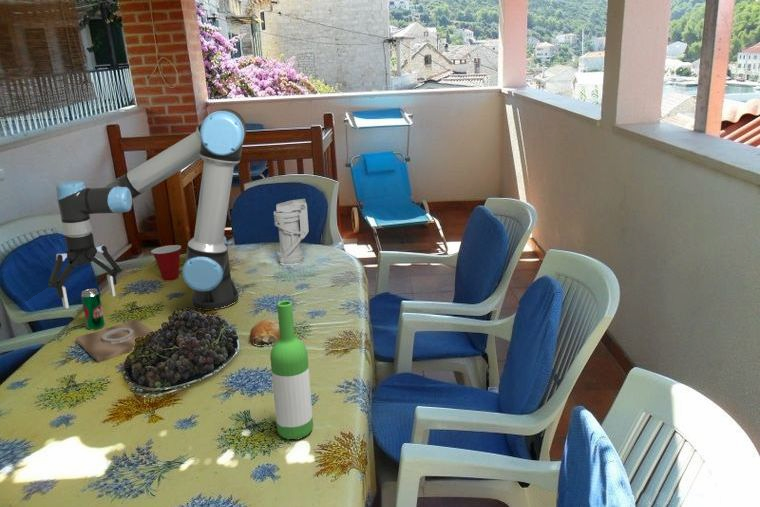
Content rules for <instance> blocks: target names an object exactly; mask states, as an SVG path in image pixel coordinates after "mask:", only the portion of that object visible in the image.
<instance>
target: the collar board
mask: <svg viewBox="0 0 760 507" xmlns="http://www.w3.org/2000/svg"><path fill="white" fill-rule="evenodd" d="M152 331H154V330H153V329H151V328H150V327H148V325H146V324H144V323H143V322H141V321H140V320H138V319H132V320H129V321H126V322H123V323H120V324H117V325H113V326H110V327H107V328H104V329H99V330H97V331H96V330H95V331H94V332H89V333H87V334H84V335H83V334H82V335H81V336H76V337H75V341H76V342H75V343H77V344H78V345H79V344H80V345H81V346H82V347H83V348H84V349H85V350H86V351H87V352H88V353H89V354H88V353H87V352H86V351H85V350H84V349H83V348H82V347H81V346H80V345H79V346H80V347H81V348H82V349H83V350H84V351H85V352H86V353H87V354H88V355H89V356H90V357H92V358H93V359H94V361H95V362H97V363H102V362H105V361H108V360H111V359H113V357H114V358H117V357H119V355H120V356H122V354H123V355H125V353H126V354H128V352H129V353H131V352H130V351H132V350H133V347H134V344H135V339H136V338H138V337H144V336H146V335H147V334H148V333H149V332H152ZM132 352H133V351H132ZM116 356H117V357H116ZM110 358H111V359H110ZM104 360H105V361H104ZM101 361H102V362H101Z"/></svg>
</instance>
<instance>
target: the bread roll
mask: <svg viewBox="0 0 760 507" xmlns="http://www.w3.org/2000/svg"><path fill="white" fill-rule="evenodd" d="M249 332H250V333H249V339H250V342H251V344H252V343H254V344H257V345H261V346H262V345H264V344H267V345H269V344H272V343H276V342H277V341H278V340H279V339H280V331H279V321H277V320H275V319H272V318H261V319H260V321H258V322H257V323H255V324H254V325H253V326H252V327H251V329H250V331H249Z"/></svg>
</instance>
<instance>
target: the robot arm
mask: <svg viewBox="0 0 760 507" xmlns="http://www.w3.org/2000/svg"><path fill="white" fill-rule="evenodd" d="M246 134H247V125H246V122H245V119H244V118H243V116H241V114H240V113H238V112H237V111H235V110H233V109H230V108H221V109H218V110H216V111H214V112H212V113H209V115H207V116H206V117H205V119H204V120H203V121H202V123H201V124H199V125H197V127H196V131H194V132H192V133H191V134H190V135H188V136H186V137H184V138H183V139H181V140H179V141H178V142H176V143H175V144H173V145H171V146H169V147H168V148H166V149H164V150H163V151H161V152H159V153H157V155H155V156H153V157H151V158H150V159H148V160H146V161H144V162H143V163H142V164H139V165H138V166H136V167H135V168H133V169H131V170H130V171H128V172H127V173H125V174H123V175H121V176H120V177H117V178H115V179H114V180H112V181H111V182H110V183H108V184H107V185H105V186H104V187H87V186H86V185H85V183H84V181H82V180H67V181H62V182H59V183H58V184H57V185H56V188H55V189H56V197H57V198H56V201H57V204H58V207H59V208H58V209H59V213H60V218H61V225H62V230H63V231H62V232H63V234H64V242H65V246H66V253H58V252H57V253H55V263H54V265H53V268H52V271H51V273H50V276H49V280H48V284H47V285H48V286H49V287H51V289H54V288H55V289H56V296H57V297H58V298H59V299H61V301H62V305H63V307H64V308H65V309H69V308H70V306H69V301H68V295H67V289H66V286H64V284H65V283H66V282H67V280H68V278H69V277H70V275H71V274H72V272H73V271H74V269H75V268H76V267H77V266H84V265H88V264H91V263H92V262H93V263H94V264H96V265H97V266H99V267H100V268H101V269H103V270H104V271H105V272H107V273H108V274H106V279H107V285H108V292H109V295H110V296H112V297H116V290H115V286H116V285H117V278H116V277H117V274H118V273H120V272H122V268H121V267H120V266H119V265H118V263H117V262H116V261H115V259H114V257H112V256H111V254H110V253H109V251H108V249H107V246H106V245H104V244H102V243H101V244H100V245H99V246H95V240H94V234H93V233H92V232H93V227H92V223H91V216H90V215H94V214H96V215H97V214H120V213H128V212H130V211H131V209H132V206H133V200H134V199H135V198H136V197H138V196H140V195H142V194H143V193H145V192H146V191H148V190H150V189H152V188H153V187H155V186H157V185H158V184H160V183H161V182H163V181H165V180H166V179H168V178H170V177H172V176H173V175H175V174H176V173H179V172H180V171H182V170H184V169H185V168H187V167H189V166H190V165H192V164H193V163H195V162H197V161H198V160H200V159H202V160H203V166H202V175H201V180H200V181H201V182H200V188H199V189H200V190H199V198H198V205H197V210H196V211H197V213H196V221H195V227H194V228H195V229H194V236H193V237H192V238H191V239H190V240H189V241H188V243H187V248H186V254H185V262H184V264H183V266H182V269H181V270H182V273H181V274H182V275H181V276H182V278H183V281H184V283H185V284H186V286H188V287H189V288H190V289H192V290H193V291H192V297H191V301H192V302H191V303H192V307H193V308H195V307H196V308H195V309H197V308H201V309H215V308H221V307H224V306H228V305H230V304H232V303H234V302H236V301H237V300H238V298H239V291H238V289H237V288H236V285H235V284H234V281H233V278H232V276H231V266H230V258H229V250H228V249H229V248H228V246H229V244H228V241H227V236H225V230H226V223H227V216H228V210H229V204H230V195H231V190H232V182H233V177H234V176H233V175H234V168H235V166H236V165H238V164H239V163H240V162H241V158H242V153H243V145H244V140H245V137H246ZM97 252H98V253H100V254H102V255H103V257H104V259H106V261H107V262H108V263H109V265H110V266H111V267H112V268H110V267H109V266H108V265H106V264H105V263H103V262H102V261H100V259H99V258H97V257H96V255H97ZM66 258H67V259H68V262H67V264H66V267H65V268H64V269H63V271H62V272H61V270H62V267H63V264H64V263H63V262H64V261H66V260H65V259H66ZM60 273H61V274H60ZM238 301H239V300H238ZM238 301H237V302H238ZM237 302H236V303H237ZM201 309H200V310H201Z"/></svg>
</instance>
